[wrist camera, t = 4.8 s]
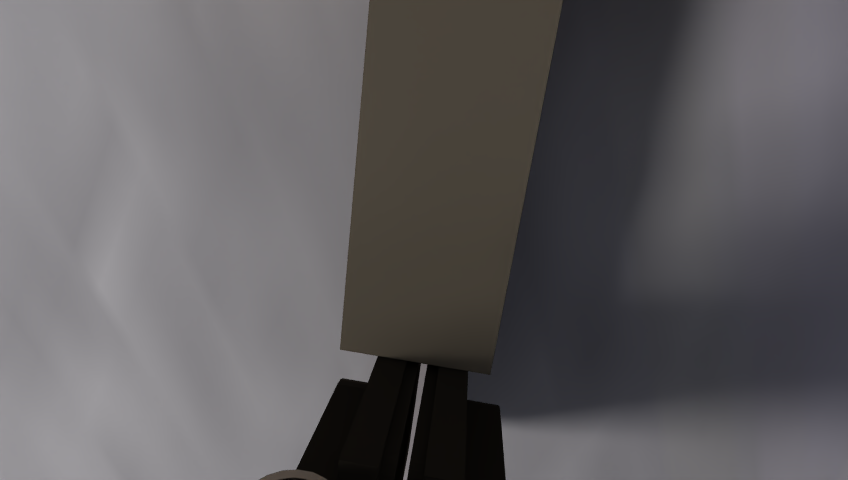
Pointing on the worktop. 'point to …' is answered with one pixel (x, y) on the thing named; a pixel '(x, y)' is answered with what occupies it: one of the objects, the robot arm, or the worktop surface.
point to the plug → (442, 174)
